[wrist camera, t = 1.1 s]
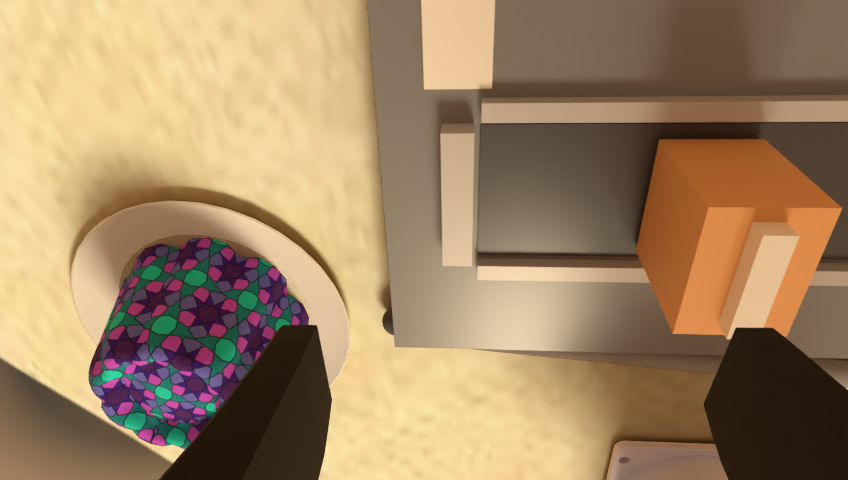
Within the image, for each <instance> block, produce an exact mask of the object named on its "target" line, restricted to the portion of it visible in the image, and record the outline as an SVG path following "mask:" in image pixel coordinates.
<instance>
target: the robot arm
mask: <svg viewBox="0 0 848 480" xmlns="http://www.w3.org/2000/svg"><path fill="white" fill-rule="evenodd" d="M331 403H332V398H331V393H330V388H329V383H328V377H327V372H326V367H325V362H324V357H323V352H322V347H321V342H320V337H319V332H318V327H317V325H283V326H281V327H280V328H279V329H278V330H277V332H276V333H275V335H274V336H273V337H272V339H271V340H270V342H269V343H268V344H267V346H266V347H265V349H264V350H263V351H262V353H261V354H260V355H259V357H258V358H257V360H256V361H255V362H254V364H253V365H252V366H251V368H250V369H249V371H248V372H247V373H246V374H245V376H244V377H243V378H242V380H241V381H240V382H239V384H238V385H237V386H236V388H235V389H234V390H233V392H232V393H231V394H230V395H229V397H228V398H227V399H226V400H225V402H224V403H223V404H222V406H221V407H220V408H219V409H218V411H217V412H216V413H215V414H214V416H213V417H212V418H211V419H210V421H209V422H208V423H207V424H206V426H205V427H204V428H203V429H202V430H201V432H200V433H199V434H198V435H197V437H196V438H195V439H194V440H193V441H192V442H191V443H190V445H189V446H188V447H187V448H186V449H185V450H184V451H183V453H182V454H181V455H180V456H179V457H178V458H177V459H176V461H175V462H174V463H173V464H172V465H171V466H170V468H169V469H168V470H167V471H166V472H165V473H164V474H163V476H162V477H161V478H160V479H159V480H318V478H319V474H320V470H321V466H322V462H323V458H324V453H325V447H326V440H327V433H328V426H329V418H330V410H331ZM704 407H705V411H706V414H707V418H708V421H709V425H710V428H711V432H712V436H713V439H714V442H715V444H704V443H677V442H650V441H620V442H618V443H617V444H615V446H614V448H613V453H612V457H611V461H610V465H609V469H608V473H607V477H606V480H848V390H847V389H846V388H845V387H844V386H842V385H841V384H840V383H839V382H838V381H836V380H835V379H834V378H833V377H832V376H830V375H829V374H828V373H827V372H826V371H825V370H823V369H822V368H821V367H820V366H819V365H818V364H816V363H815V362H814V361H813V360H812V359H810V358H809V357H808V356H807V355H806V354H805V353H803V352H802V351H801V350H800V349H799V348H797V347H796V346H795V345H794V344H793V343H791V342H790V341H789V340H788V339H786V338H785V337H784V336H783V335H781V334H780V333H779V332H778V331H776V330H775V329H774V328H735V331H734V333H733V336H732V338H731V340H730V343H729V345H728V347H727V350H726V352H725V355H724V357H723V359H722V362H721V364H720V367H719V369H718V371H717V374H716V376H715V378H714V381H713V383H712V386H711V388H710V390H709V393H708V395H707V398H706V400H705V402H704Z"/></svg>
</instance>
